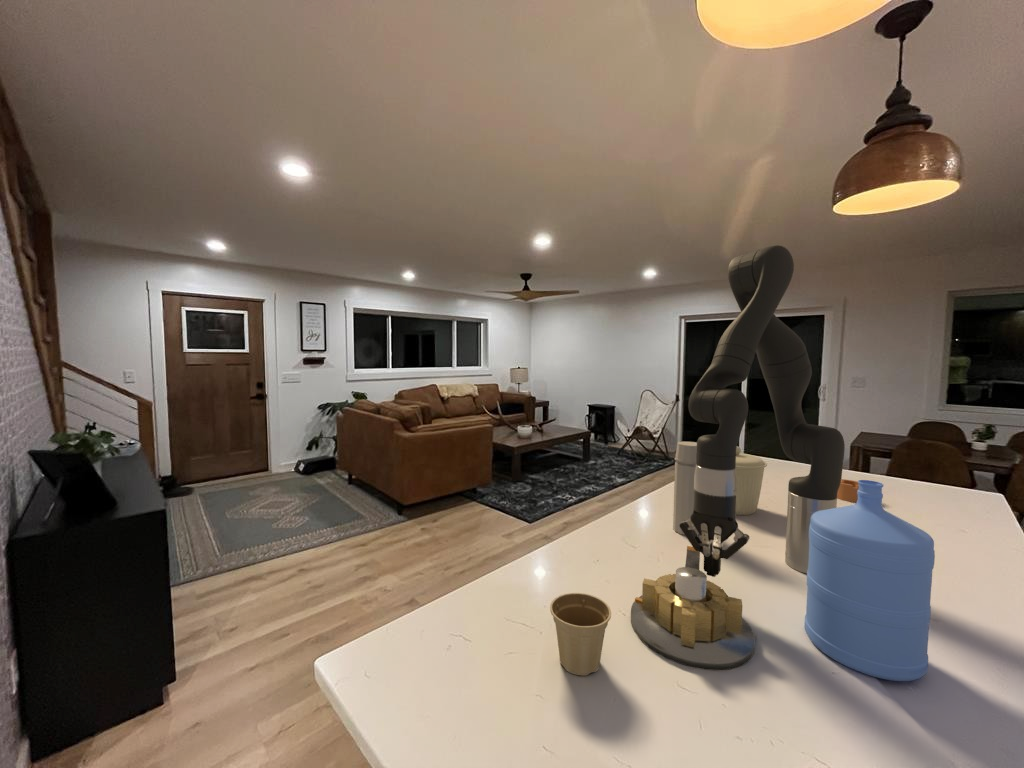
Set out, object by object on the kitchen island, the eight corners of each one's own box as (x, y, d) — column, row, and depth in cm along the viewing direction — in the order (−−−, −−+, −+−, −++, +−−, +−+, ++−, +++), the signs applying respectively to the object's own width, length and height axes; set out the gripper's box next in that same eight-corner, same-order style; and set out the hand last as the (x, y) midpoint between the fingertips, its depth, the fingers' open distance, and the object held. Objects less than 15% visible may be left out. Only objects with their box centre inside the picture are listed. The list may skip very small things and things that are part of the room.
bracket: (870, 506, 141) (871, 486, 141) (843, 505, 142) (844, 485, 142) (834, 490, 159) (835, 472, 159) (811, 489, 160) (812, 471, 160)
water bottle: (694, 540, 112) (697, 447, 111) (666, 531, 118) (669, 443, 117) (709, 531, 118) (712, 443, 117) (682, 523, 124) (685, 439, 123)
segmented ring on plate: (701, 574, 90) (702, 546, 90) (758, 652, 66) (759, 614, 66) (626, 570, 92) (627, 543, 91) (655, 645, 67) (656, 608, 67)
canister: (765, 508, 138) (768, 444, 137) (764, 525, 123) (767, 454, 122) (705, 498, 148) (707, 438, 147) (697, 513, 133) (699, 447, 132)
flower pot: (544, 643, 71) (545, 593, 70) (599, 640, 71) (601, 591, 71) (555, 686, 61) (556, 628, 61) (618, 682, 62) (619, 625, 62)
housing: (731, 603, 83) (733, 553, 82) (775, 678, 63) (778, 613, 63) (626, 592, 86) (627, 545, 86) (637, 660, 67) (638, 598, 66)
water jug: (893, 698, 60) (904, 503, 58) (783, 632, 74) (790, 475, 73) (948, 667, 66) (960, 490, 64) (837, 612, 80) (845, 467, 79)
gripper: (674, 486, 84) (671, 571, 85) (748, 500, 76) (745, 594, 77) (685, 479, 90) (683, 558, 91) (756, 491, 82) (753, 578, 83)
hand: (711, 574), depth 84 cm, fingers closed
